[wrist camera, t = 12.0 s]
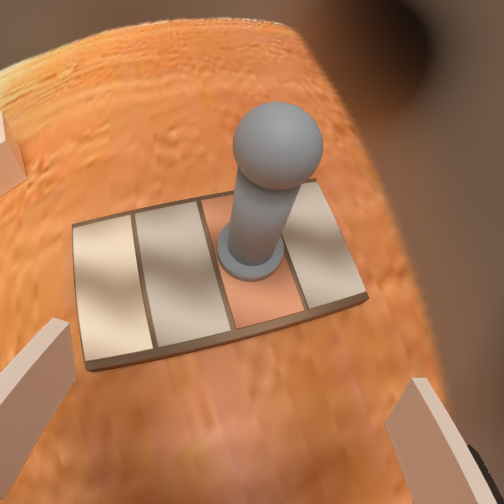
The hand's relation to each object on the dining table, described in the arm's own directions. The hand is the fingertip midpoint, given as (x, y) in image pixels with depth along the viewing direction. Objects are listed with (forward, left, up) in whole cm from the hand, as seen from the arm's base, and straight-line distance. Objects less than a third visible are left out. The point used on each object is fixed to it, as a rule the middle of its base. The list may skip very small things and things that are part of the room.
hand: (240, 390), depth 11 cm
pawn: (-10, +5, -10) cm, 15 cm away
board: (-10, +2, -12) cm, 15 cm away
